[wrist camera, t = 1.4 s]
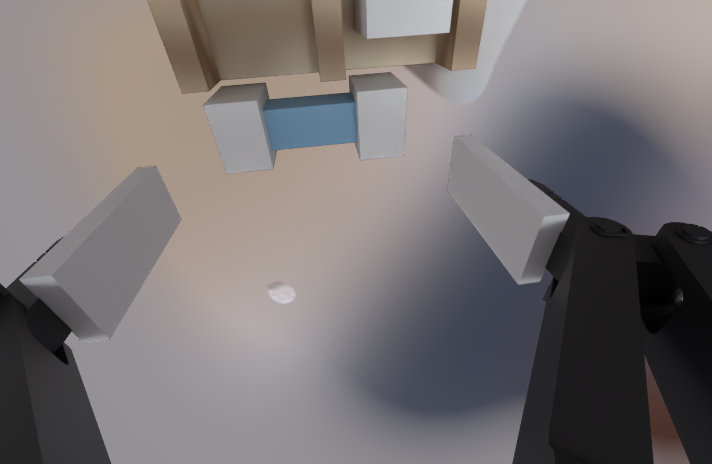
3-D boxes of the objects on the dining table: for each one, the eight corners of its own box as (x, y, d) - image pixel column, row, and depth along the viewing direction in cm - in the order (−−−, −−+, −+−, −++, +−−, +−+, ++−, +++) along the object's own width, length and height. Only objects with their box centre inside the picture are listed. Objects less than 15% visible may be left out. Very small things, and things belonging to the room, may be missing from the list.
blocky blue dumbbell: (239, 146, 22) (226, 174, 19) (221, 86, 20) (203, 105, 16) (389, 131, 23) (404, 156, 19) (390, 72, 20) (407, 87, 17)
